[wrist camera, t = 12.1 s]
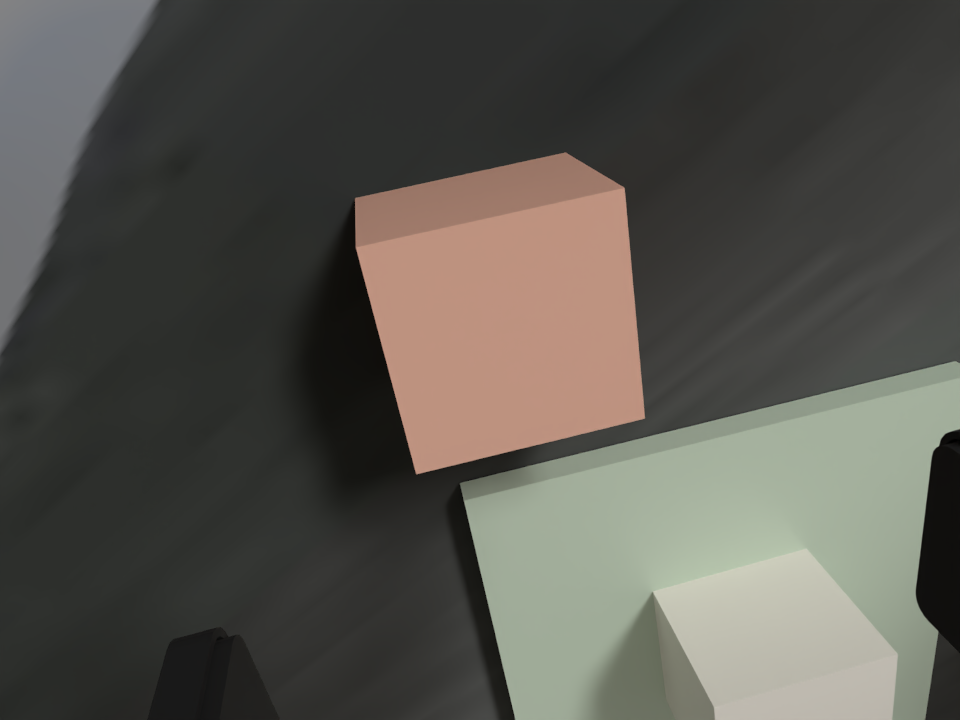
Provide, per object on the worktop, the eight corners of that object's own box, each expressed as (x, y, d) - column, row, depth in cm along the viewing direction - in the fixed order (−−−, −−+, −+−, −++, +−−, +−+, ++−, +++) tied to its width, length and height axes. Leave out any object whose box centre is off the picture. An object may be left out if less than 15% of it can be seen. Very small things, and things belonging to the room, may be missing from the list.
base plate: (955, 361, 25) (977, 373, 24) (909, 700, 33) (925, 719, 32) (459, 483, 24) (463, 500, 23) (535, 805, 32) (540, 827, 31)
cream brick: (806, 548, 27) (897, 654, 22) (805, 659, 29) (887, 773, 25) (652, 591, 26) (714, 707, 22) (666, 699, 29) (723, 822, 25)
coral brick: (564, 152, 20) (624, 187, 16) (587, 341, 23) (645, 418, 18) (354, 197, 20) (355, 247, 15) (403, 384, 22) (416, 474, 18)
